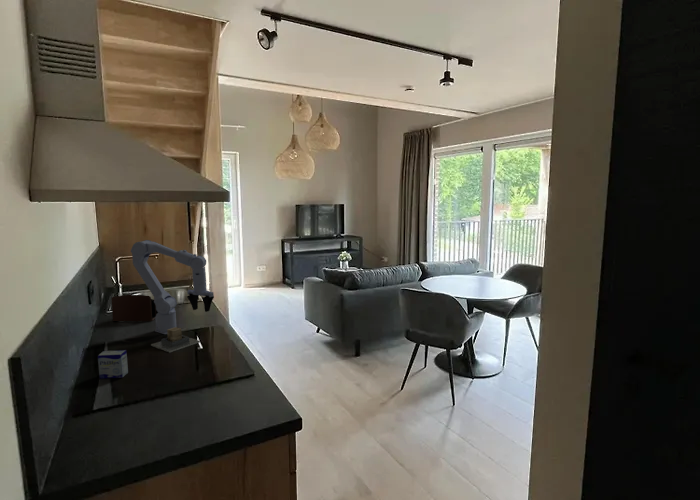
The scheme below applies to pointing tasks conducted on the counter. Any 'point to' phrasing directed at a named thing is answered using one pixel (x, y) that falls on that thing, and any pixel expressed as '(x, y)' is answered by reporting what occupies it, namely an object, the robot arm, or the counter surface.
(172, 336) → the beige rectangular block
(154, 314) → the letter holder
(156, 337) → the counter surface
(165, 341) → the socket plate
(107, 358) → the box
